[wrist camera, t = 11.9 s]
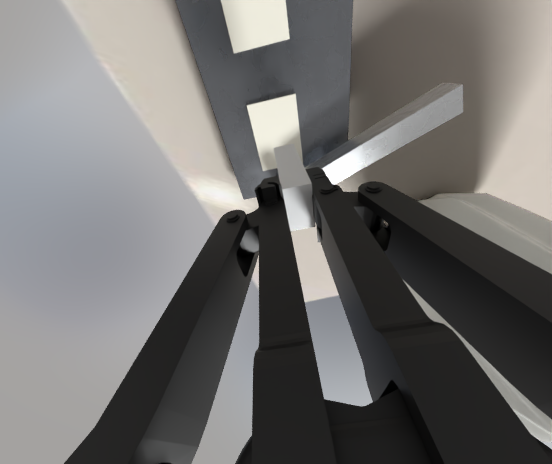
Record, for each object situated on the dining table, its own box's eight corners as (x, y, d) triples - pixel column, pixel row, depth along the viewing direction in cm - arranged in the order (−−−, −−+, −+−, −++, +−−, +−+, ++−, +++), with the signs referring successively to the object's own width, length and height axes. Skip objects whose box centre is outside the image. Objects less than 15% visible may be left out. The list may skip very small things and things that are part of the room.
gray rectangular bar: (283, 199, 26) (286, 214, 24) (273, 185, 25) (275, 198, 22) (441, 107, 21) (467, 113, 18) (439, 82, 19) (467, 84, 17)
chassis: (151, -101, 15) (120, -150, 11) (340, -163, 14) (366, -236, 10) (245, 187, 30) (243, 202, 27) (338, 168, 29) (348, 180, 26)
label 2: (246, 105, 20) (246, 105, 20) (295, 93, 20) (295, 93, 20) (262, 169, 25) (262, 171, 24) (302, 161, 24) (303, 162, 24)
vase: (365, 199, 33) (563, 438, 12) (501, 150, 29) (1162, 372, 8) (375, 268, 44) (480, 450, 23) (472, 240, 41) (703, 426, 20)
